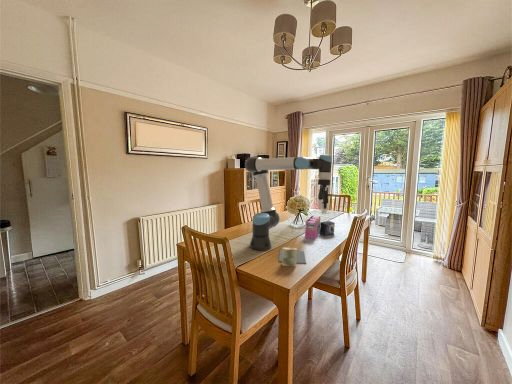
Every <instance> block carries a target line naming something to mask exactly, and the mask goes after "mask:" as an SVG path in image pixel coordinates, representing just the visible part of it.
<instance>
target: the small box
mask: <svg viewBox="0 0 512 384" xmlns="http://www.w3.org/2000/svg"><path fill="white" fill-rule="evenodd" d="M319 235H321V236H324V237H327V236H333V235H335V222H333V221H331V220H326V221H320V232H319Z"/></svg>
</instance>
